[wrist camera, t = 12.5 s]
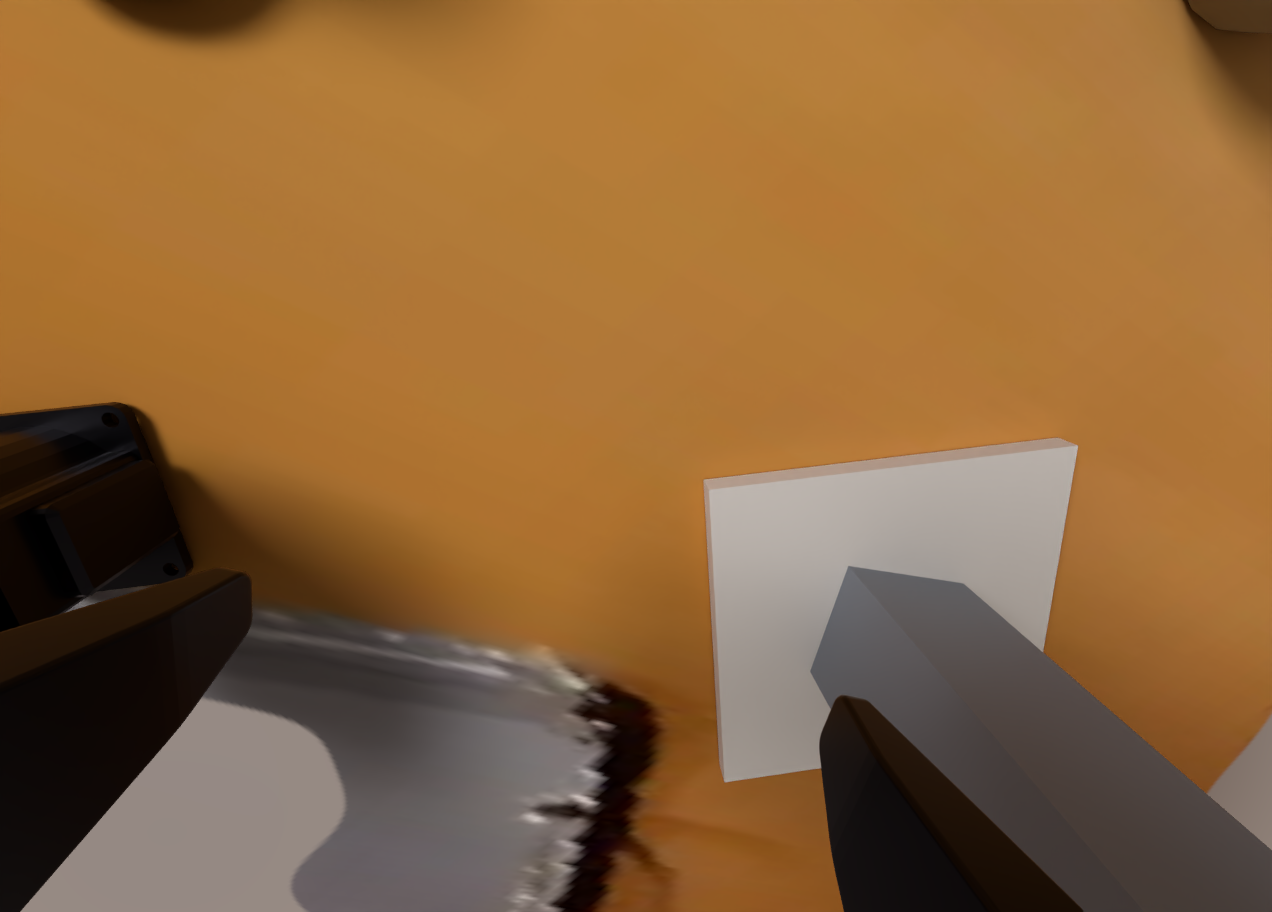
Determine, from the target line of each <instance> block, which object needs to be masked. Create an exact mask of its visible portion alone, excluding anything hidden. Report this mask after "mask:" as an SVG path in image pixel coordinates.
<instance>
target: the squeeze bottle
mask: <svg viewBox="0 0 1272 912" xmlns="http://www.w3.org/2000/svg"><path fill="white" fill-rule="evenodd" d="M1188 2H1189V4H1190V7H1191V9H1192V10H1193V11H1195V12H1196V13H1197V14H1198V15H1200V16H1201V17H1202V18H1203V19H1205V20H1206V21H1207V22H1208V23H1210V24H1211V25H1212V26H1213V27H1215V28H1216V29H1219V30H1228V31H1237V32H1246V33H1272V0H1188Z"/></svg>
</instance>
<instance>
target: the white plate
mask: <svg viewBox="0 0 1272 912" xmlns="http://www.w3.org/2000/svg"><path fill="white" fill-rule="evenodd" d="M1077 449H1078V445H1075V444H1073V443H1070V442H1068V441H1065V440H1063V439H1060V438H1050V439H1042V440H1033V441H1025V442H1016V443H1008V444H1000V445H991V446H983V447H974V448H966V449H958V450H949V451H941V452H932V453H924V454H916V455H907V456H899V457H890V458H882V459H874V460H865V461H857V462H848V463H840V464H832V465H823V466H815V467H806V468H798V469H789V470H781V471H773V472H764V473H756V474H747V475H739V476H731V477H722V478H714V479H705V480H704V498H705V515H706V533H707V551H708V569H709V587H710V604H711V622H712V640H713V658H714V675H715V693H716V711H717V729H718V747H719V764H720V768H721V771H722V775H723V779H724V782H730V781H737V780H744V779H751V778H757V777H764V776H771V775H778V774H784V773H791V772H798V771H805V770H811V769H818V768H821V762H820V753H819V741H820V735H821V732H822V730H823V727H824V725H825V722H826V720H827V718H828V715H829V713H830V710H831V709H830V707H829V705H828V703H827V702H826V700H825V698H824V696H823V694H822V693H821V691H820V689H819V687H818V685H817V683H816V682H815V680H814V678H813V676H812V674H811V672H810V670H811V668H812V665H813V662H814V659H815V657H816V654H817V651H818V648H819V645H820V643H821V640H822V637H823V634H824V632H825V629H826V626H827V623H828V621H829V618H830V615H831V612H832V610H833V607H834V604H835V601H836V599H837V596H838V593H839V590H840V587H841V585H842V582H843V579H844V576H845V574H846V571H847V568H848V566H852V567H859V568H866V569H872V570H879V571H885V572H892V573H898V574H905V575H912V576H918V577H925V578H931V579H938V580H945V581H951V582H958V583H963V584H965V585H966V586H967V587H968V588H969V589H970V590H971V591H973V592H974V593H975V594H976V595H977V596H978V597H980V598H981V599H982V600H983V601H984V602H985V603H986V604H988V605H989V606H990V607H991V608H992V609H993V610H995V611H996V612H997V613H998V614H999V615H1000V616H1002V617H1003V618H1004V619H1005V620H1006V621H1007V622H1008V623H1010V624H1011V625H1012V626H1013V627H1014V628H1015V629H1017V630H1018V631H1019V632H1020V633H1021V634H1022V635H1023V636H1025V637H1026V638H1027V639H1028V640H1029V641H1030V642H1032V643H1033V644H1034V645H1035V646H1036V647H1037V648H1038V649H1040V650H1041V651H1042V652H1043V649H1044V643H1045V638H1046V632H1047V626H1048V620H1049V614H1050V608H1051V602H1052V596H1053V590H1054V585H1055V579H1056V573H1057V567H1058V561H1059V555H1060V549H1061V543H1062V537H1063V532H1064V526H1065V520H1066V514H1067V508H1068V502H1069V496H1070V490H1071V484H1072V479H1073V473H1074V467H1075V461H1076V455H1077Z"/></svg>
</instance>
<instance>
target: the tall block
mask: <svg viewBox="0 0 1272 912" xmlns="http://www.w3.org/2000/svg"><path fill="white" fill-rule="evenodd" d="M810 672H811V674H812V676H813V678H814V680H815V682H816V683H817V685H818V687H819V689H820V691H821V693H822V694H823V696H824V698H825V700H826V702H827V703H828V705H829V707H830V709H831V708H832V706H833V703H834V701H835V699H836V698H837V697H838V696H839V695H842V694H845V695H850V696H855V697H860V698H864V699H866V700H868V701H869V702H870V703H871V704H872V705H873V706H874V707H875V708H876V709H877V710H879V711H880V712H881V713H882V714H883V715H884V716H885V717H886V718H887V719H888V720H889V721H890V722H891V723H892V724H893V725H894V726H895V727H896V728H897V729H898V730H899V731H900V732H901V733H902V734H903V735H904V736H905V737H906V738H907V739H908V740H909V741H910V742H911V743H912V744H913V745H914V746H916V747H917V748H918V749H919V750H920V751H921V752H922V753H923V754H924V755H925V756H926V757H927V758H928V759H929V760H930V761H931V762H932V763H933V764H934V765H935V766H936V767H937V768H938V769H939V770H940V771H941V772H942V773H943V774H944V775H945V776H946V777H947V778H948V779H949V780H950V781H951V782H953V783H954V784H955V785H956V786H957V787H958V788H959V789H960V790H961V791H962V792H963V793H964V794H965V795H966V796H967V797H968V798H969V799H970V800H971V801H972V802H973V803H974V804H975V805H976V806H977V807H978V808H979V809H980V810H981V811H982V812H983V813H984V814H985V815H986V816H987V817H988V818H990V819H991V820H992V821H993V822H994V823H995V824H996V825H997V826H998V827H999V828H1000V829H1001V830H1002V831H1003V832H1004V833H1005V834H1006V835H1007V836H1008V837H1009V838H1010V839H1011V840H1012V841H1013V842H1014V843H1015V844H1016V845H1017V846H1018V847H1019V848H1020V849H1021V850H1022V851H1023V852H1024V853H1026V854H1027V855H1028V856H1029V857H1030V858H1031V859H1032V860H1033V861H1034V862H1035V863H1036V864H1037V865H1038V866H1039V867H1040V868H1041V869H1042V870H1043V871H1044V872H1045V873H1046V874H1047V875H1048V876H1049V877H1050V878H1051V879H1052V880H1053V881H1054V882H1055V883H1056V884H1057V885H1058V886H1059V887H1060V888H1061V889H1063V890H1064V891H1065V892H1066V893H1067V894H1068V895H1069V896H1070V897H1071V898H1072V899H1073V900H1074V901H1075V902H1076V903H1077V904H1078V905H1079V906H1080V907H1081V908H1082V909H1083V911H1084V912H1272V850H1271V849H1269V848H1268V847H1267V846H1266V845H1265V844H1264V843H1262V842H1261V841H1260V840H1259V839H1258V838H1257V837H1256V836H1255V835H1253V834H1252V833H1251V832H1250V831H1249V830H1248V829H1246V828H1245V827H1244V826H1243V825H1242V824H1241V823H1239V822H1238V821H1237V820H1236V819H1235V818H1234V817H1233V816H1231V815H1230V814H1229V813H1228V812H1227V811H1225V810H1224V809H1223V808H1222V807H1221V806H1220V805H1219V804H1218V803H1216V802H1215V801H1214V800H1213V799H1212V798H1211V797H1209V796H1208V795H1207V794H1206V793H1205V792H1204V791H1203V790H1201V789H1200V788H1199V787H1198V786H1197V785H1196V784H1194V783H1193V782H1192V781H1191V780H1190V779H1189V778H1188V777H1186V776H1185V775H1184V774H1183V773H1182V772H1181V771H1179V770H1178V769H1177V768H1176V767H1175V766H1174V765H1173V764H1171V763H1170V762H1169V761H1168V760H1167V759H1166V758H1164V757H1163V756H1162V755H1161V754H1160V753H1159V752H1157V751H1156V750H1155V749H1154V748H1153V747H1152V746H1151V745H1149V744H1148V743H1147V742H1146V741H1145V740H1144V739H1142V738H1141V737H1140V736H1139V735H1138V734H1137V733H1136V732H1134V731H1133V730H1132V729H1131V728H1130V727H1129V726H1127V725H1126V724H1125V723H1124V722H1123V721H1122V720H1121V719H1119V718H1118V717H1117V716H1116V715H1115V714H1114V713H1112V712H1111V711H1110V710H1109V709H1108V708H1107V707H1106V706H1104V705H1103V704H1102V703H1101V702H1100V701H1099V700H1097V699H1096V698H1095V697H1094V696H1093V695H1092V694H1090V693H1089V692H1088V691H1087V690H1086V689H1085V688H1084V687H1082V686H1081V685H1080V684H1079V683H1078V682H1077V681H1075V680H1074V679H1073V678H1072V677H1071V676H1070V675H1069V674H1067V673H1066V672H1065V671H1064V670H1063V669H1062V668H1060V667H1059V666H1058V665H1057V664H1056V663H1055V662H1054V661H1052V660H1051V659H1050V658H1049V657H1048V656H1047V655H1045V654H1044V653H1043V652H1042V651H1041V650H1040V649H1038V648H1037V647H1036V646H1035V645H1034V644H1033V643H1032V642H1030V641H1029V640H1028V639H1027V638H1026V637H1025V636H1023V635H1022V634H1021V633H1020V632H1019V631H1018V630H1017V629H1015V628H1014V627H1013V626H1012V625H1011V624H1010V623H1008V622H1007V621H1006V620H1005V619H1004V618H1003V617H1002V616H1000V615H999V614H998V613H997V612H996V611H995V610H993V609H992V608H991V607H990V606H989V605H988V604H986V603H985V602H984V601H983V600H982V599H981V598H980V597H978V596H977V595H976V594H975V593H974V592H973V591H971V590H970V589H969V588H968V587H967V586H966V585H965V584H963V583H958V582H951V581H945V580H938V579H931V578H925V577H918V576H912V575H905V574H898V573H892V572H885V571H879V570H872V569H866V568H859V567H852V566H848V568H847V571H846V574H845V576H844V579H843V582H842V585H841V587H840V590H839V593H838V596H837V599H836V601H835V604H834V607H833V610H832V612H831V615H830V618H829V621H828V623H827V626H826V629H825V632H824V634H823V637H822V640H821V643H820V645H819V648H818V651H817V654H816V657H815V659H814V662H813V665H812V668H811V670H810Z"/></svg>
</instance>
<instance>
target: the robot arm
mask: <svg viewBox="0 0 1272 912" xmlns="http://www.w3.org/2000/svg"><path fill="white" fill-rule="evenodd" d="M111 413H113V414H114V415H116V416H117V418H118V419H119V424H117V423H116V422H114V421H113V420H112V418H111ZM170 563H172V564H174V565H176V566H177V567H178V570H176V569H174V568H173V567H172V566H171V565H170ZM192 569H193V563H192V560H191V557H190V555H189V552H188V550H187V547H186V544H185V542H184V539H183V537H182V534H181V532H180V529H179V525H178V522H177V519H176V517H175V514H174V512H173V509H172V507H171V504H170V501H169V499H168V496H167V494H166V491H165V489H164V486H163V483H162V481H161V478H160V476H159V473H158V471H157V468H156V466H155V465H154V462H153V460H152V457H151V454H150V452H149V449H148V447H147V444H146V442H145V439H144V436H143V434H142V431H141V429H140V426H139V424H138V421H137V418H136V416H135V414H134V412H133V411H132V409H130V408H129V407H128V406H127V405H125V404H122V403H118V402H111V403H101V404H92V405H82V406H73V407H63V408H54V409H44V410H35V411H25V412H16V413H7V414H0V912H20V911H21V910H22V909H23V908H24V907H25V905H26V904H27V903H28V902H29V901H30V900H31V899H32V897H33V896H34V895H35V894H36V893H37V892H38V891H39V889H40V888H41V887H42V886H43V885H44V884H45V882H46V881H47V880H48V879H49V878H50V877H51V876H52V874H53V873H54V872H55V871H56V870H57V869H58V867H59V866H60V865H61V864H62V863H63V862H64V860H65V859H66V858H67V857H68V856H69V855H70V854H71V852H72V851H73V850H74V849H75V848H76V847H77V845H78V844H79V843H80V842H81V841H82V840H83V839H84V837H85V836H86V835H87V834H88V833H89V832H90V830H91V829H92V828H93V827H94V826H95V825H96V824H97V822H98V821H99V820H100V819H101V818H102V817H103V815H104V814H105V813H106V812H107V811H108V810H109V808H110V807H111V806H112V805H113V804H114V803H115V802H116V800H117V799H118V798H119V797H120V796H121V795H122V794H123V792H124V791H125V790H126V789H127V788H128V787H129V785H130V784H131V783H132V782H133V781H134V779H135V778H136V777H137V776H138V775H139V774H140V773H141V772H142V770H143V769H144V768H145V767H146V766H147V764H149V762H150V761H151V760H152V759H153V758H154V757H155V755H156V754H157V753H158V752H159V751H160V750H161V748H162V747H163V746H164V745H165V744H166V743H167V742H168V740H169V739H170V738H171V737H172V736H173V734H174V733H175V732H176V731H177V729H178V728H179V727H180V726H181V725H182V723H183V722H184V721H185V719H186V718H187V717H188V715H189V714H190V713H191V711H192V710H193V709H194V707H195V706H196V705H197V703H198V702H199V700H200V699H201V698H202V696H203V695H204V693H205V692H206V691H207V689H208V688H209V686H210V685H211V684H212V682H213V681H214V679H215V678H216V677H217V675H218V674H219V672H220V671H221V670H222V668H223V667H224V665H225V664H226V663H227V661H228V660H229V658H230V657H231V656H232V654H233V653H234V651H235V650H236V649H237V647H238V646H239V644H240V643H241V642H242V640H243V639H244V637H245V636H246V634H247V633H248V631H249V629H250V626H251V623H252V583H251V578H250V576H249V574H248V573H246V572H244V571H240V570H235V569H230V568H225V567H217V568H213V569H209V570H206V571H203V572H199V573H196V574H193V575H189V576H187V575H188V574H189V573H190V572H191V571H192ZM185 576H186V577H185ZM162 583H163V584H162ZM153 584H159V585H156V586H153V587H149V588H146V589H143V590H139V591H136V592H133V593H129V594H126V595H123V596H119V597H116V598H113V599H109V600H106V601H103V602H99V603H96V604H93V605H89V606H86V607H83V608H79V609H76V610H73V611H69V612H66V611H68V610H69V609H70V608H72V607H73V606H75V605H76V604H78V603H79V602H80V601H82V600H83V599H85V598H86V597H88V596H89V595H92V594H94V593H95V592H96V591H104V590H113V589H121V588H129V587H137V586H145V585H153ZM65 612H66V613H65ZM819 753H820V762H821V770H822V779H823V787H824V796H825V804H826V812H827V821H828V829H829V838H830V845H831V852H832V858H833V863H834V868H835V873H836V877H837V882H838V886H839V891H840V895H841V900H842V904H843V909H844V912H1084V911H1083V909H1082V908H1081V907H1080V906H1079V905H1078V904H1077V903H1076V902H1075V901H1074V900H1073V899H1072V898H1071V897H1070V896H1069V895H1068V894H1067V893H1066V892H1065V891H1064V890H1063V889H1061V888H1060V887H1059V886H1058V885H1057V884H1056V883H1055V882H1054V881H1053V880H1052V879H1051V878H1050V877H1049V876H1048V875H1047V874H1046V873H1045V872H1044V871H1043V870H1042V869H1041V868H1040V867H1039V866H1038V865H1037V864H1036V863H1035V862H1034V861H1033V860H1032V859H1031V858H1030V857H1029V856H1028V855H1027V854H1026V853H1024V852H1023V851H1022V850H1021V849H1020V848H1019V847H1018V846H1017V845H1016V844H1015V843H1014V842H1013V841H1012V840H1011V839H1010V838H1009V837H1008V836H1007V835H1006V834H1005V833H1004V832H1003V831H1002V830H1001V829H1000V828H999V827H998V826H997V825H996V824H995V823H994V822H993V821H992V820H991V819H990V818H988V817H987V816H986V815H985V814H984V813H983V812H982V811H981V810H980V809H979V808H978V807H977V806H976V805H975V804H974V803H973V802H972V801H971V800H970V799H969V798H968V797H967V796H966V795H965V794H964V793H963V792H962V791H961V790H960V789H959V788H958V787H957V786H956V785H955V784H954V783H953V782H951V781H950V780H949V779H948V778H947V777H946V776H945V775H944V774H943V773H942V772H941V771H940V770H939V769H938V768H937V767H936V766H935V765H934V764H933V763H932V762H931V761H930V760H929V759H928V758H927V757H926V756H925V755H924V754H923V753H922V752H921V751H920V750H919V749H918V748H917V747H916V746H914V745H913V744H912V743H911V742H910V741H909V740H908V739H907V738H906V737H905V736H904V735H903V734H902V733H901V732H900V731H899V730H898V729H897V728H896V727H895V726H894V725H893V724H892V723H891V722H890V721H889V720H888V719H887V718H886V717H885V716H884V715H883V714H882V713H881V712H880V711H879V710H877V709H876V708H875V707H874V706H873V705H872V704H871V703H870V702H869V701H868V700H866V699H864V698H860V697H855V696H850V695H845V694H842V695H839V696H838V697H837V698H836V699H835V701H834V703H833V706H832V708H831V710H830V713H829V715H828V718H827V720H826V722H825V725H824V727H823V730H822V732H821V735H820V741H819Z"/></svg>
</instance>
